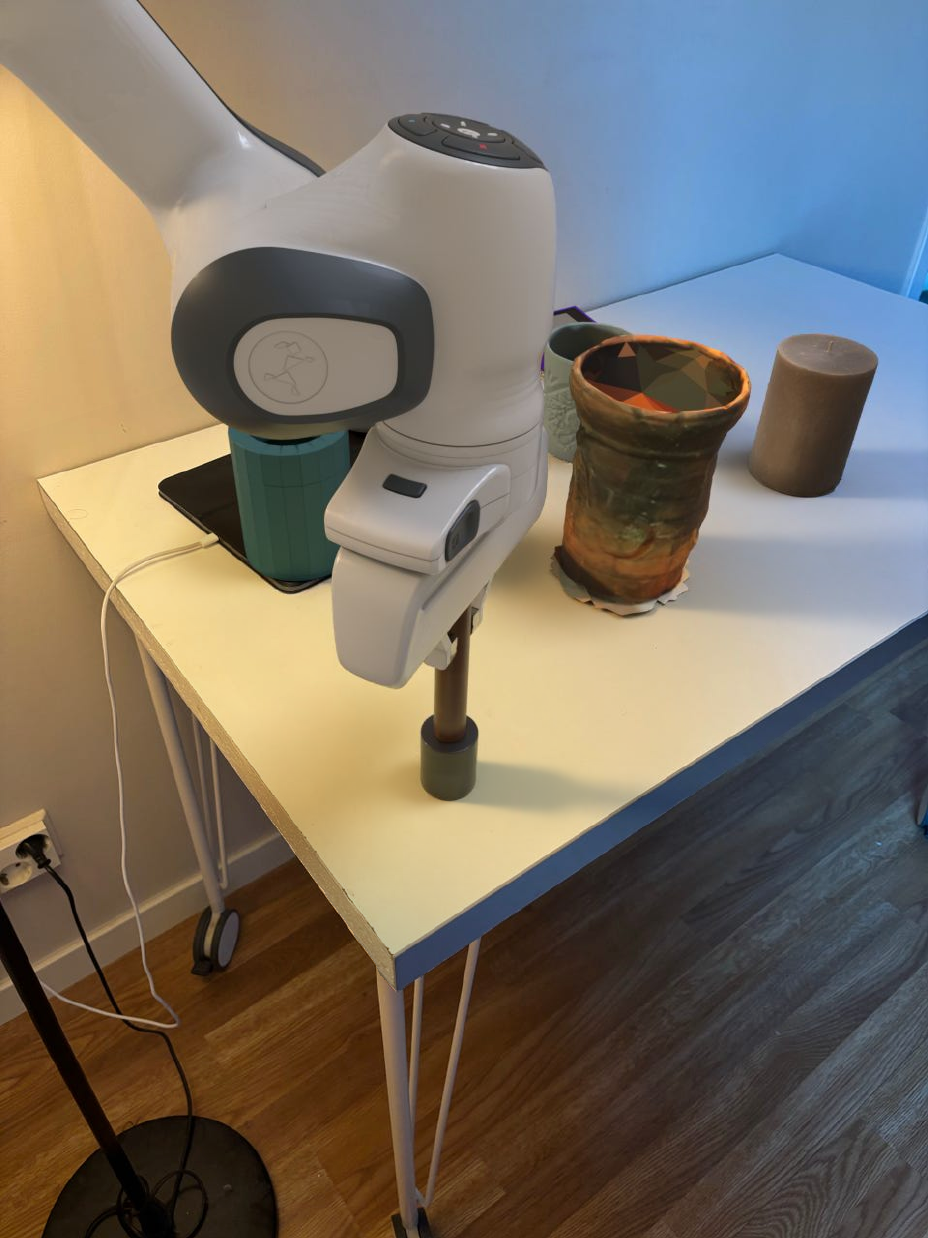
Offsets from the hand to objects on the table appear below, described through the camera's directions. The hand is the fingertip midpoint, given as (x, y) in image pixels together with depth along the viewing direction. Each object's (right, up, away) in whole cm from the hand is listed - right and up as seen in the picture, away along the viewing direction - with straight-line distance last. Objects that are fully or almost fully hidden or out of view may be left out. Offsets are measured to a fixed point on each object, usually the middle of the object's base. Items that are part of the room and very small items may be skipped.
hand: (451, 643), depth 60 cm
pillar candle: (+36, +17, +42) cm, 58 cm away
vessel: (+16, +6, +28) cm, 33 cm away
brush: (0, -10, +9) cm, 13 cm away
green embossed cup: (+14, +21, +45) cm, 52 cm away
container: (-15, +8, +29) cm, 33 cm away
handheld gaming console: (+15, +33, +59) cm, 69 cm away
